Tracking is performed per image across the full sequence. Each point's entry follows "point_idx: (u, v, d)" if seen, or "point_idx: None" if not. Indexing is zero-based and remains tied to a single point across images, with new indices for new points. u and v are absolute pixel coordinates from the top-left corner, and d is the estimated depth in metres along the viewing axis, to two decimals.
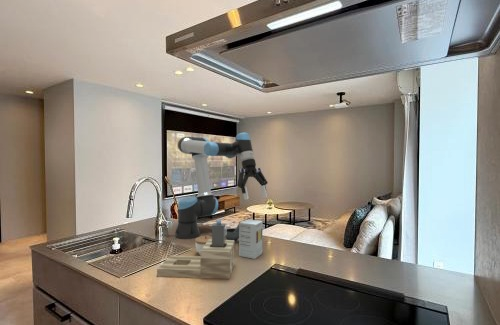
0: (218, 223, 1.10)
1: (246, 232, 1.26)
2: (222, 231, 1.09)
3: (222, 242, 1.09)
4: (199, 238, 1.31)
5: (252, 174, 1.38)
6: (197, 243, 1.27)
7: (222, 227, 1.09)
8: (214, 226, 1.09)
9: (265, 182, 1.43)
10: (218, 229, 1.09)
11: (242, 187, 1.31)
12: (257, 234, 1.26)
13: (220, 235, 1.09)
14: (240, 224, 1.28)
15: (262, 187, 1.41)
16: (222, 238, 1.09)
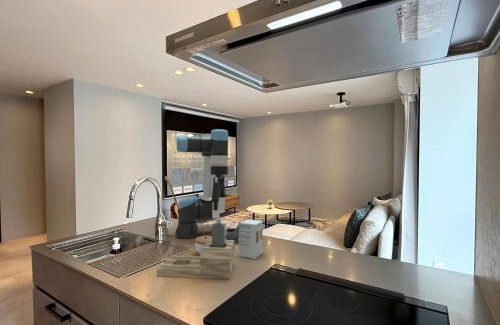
0: (218, 223, 1.10)
1: (246, 232, 1.26)
2: (222, 231, 1.09)
3: (222, 242, 1.09)
4: (199, 238, 1.31)
5: None
6: (197, 243, 1.27)
7: (222, 227, 1.09)
8: (214, 226, 1.09)
9: None
10: (218, 229, 1.09)
11: (216, 203, 1.02)
12: (257, 234, 1.26)
13: (220, 235, 1.09)
14: (240, 224, 1.28)
15: (221, 199, 1.17)
16: (222, 238, 1.09)
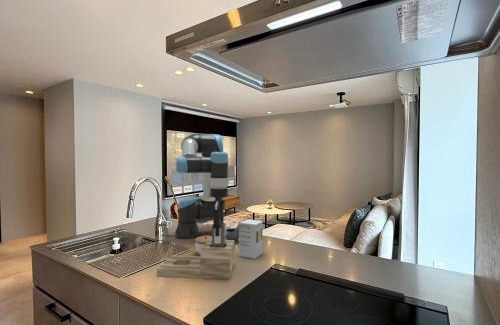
0: None
1: (246, 232, 1.26)
2: (222, 231, 1.09)
3: (222, 242, 1.09)
4: (199, 238, 1.31)
5: None
6: (197, 243, 1.27)
7: (222, 227, 1.09)
8: None
9: (222, 220, 1.15)
10: None
11: (218, 229, 1.07)
12: (257, 234, 1.26)
13: None
14: (240, 224, 1.28)
15: None
16: (222, 238, 1.09)
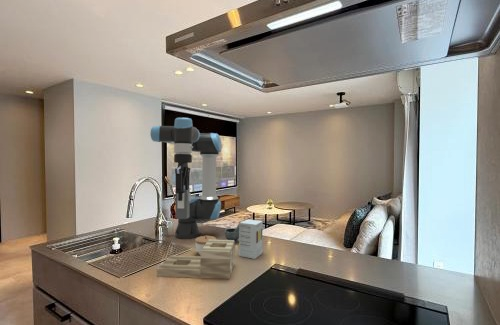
0: None
1: (246, 232, 1.26)
2: (185, 196, 1.10)
3: (185, 207, 1.10)
4: (199, 238, 1.31)
5: None
6: (197, 243, 1.27)
7: (185, 192, 1.10)
8: None
9: None
10: None
11: (180, 193, 1.08)
12: (257, 234, 1.26)
13: None
14: (240, 224, 1.28)
15: None
16: (185, 203, 1.10)
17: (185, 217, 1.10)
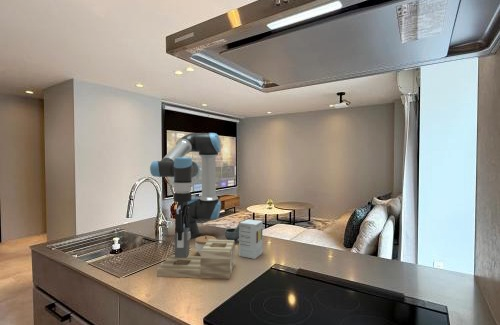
0: None
1: (246, 232, 1.26)
2: (185, 235, 1.10)
3: (185, 246, 1.10)
4: (199, 238, 1.31)
5: None
6: (197, 243, 1.27)
7: (185, 231, 1.10)
8: None
9: None
10: None
11: (180, 233, 1.08)
12: (257, 234, 1.26)
13: None
14: (240, 224, 1.28)
15: None
16: (185, 242, 1.10)
17: (185, 256, 1.10)
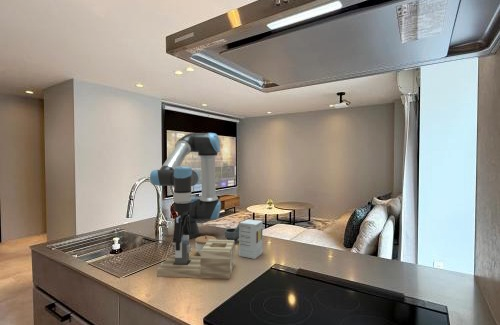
0: (181, 241, 1.11)
1: (246, 232, 1.26)
2: (185, 249, 1.10)
3: (185, 260, 1.10)
4: (199, 238, 1.31)
5: (184, 221, 1.12)
6: (197, 243, 1.27)
7: (185, 245, 1.10)
8: None
9: (189, 230, 1.19)
10: None
11: (178, 243, 1.06)
12: (257, 234, 1.26)
13: (183, 253, 1.10)
14: (240, 224, 1.28)
15: (185, 237, 1.17)
16: (185, 256, 1.10)
17: None
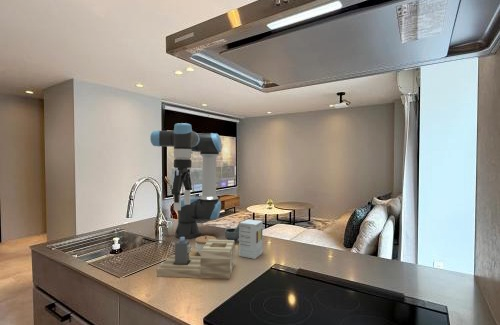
0: (181, 241, 1.11)
1: (246, 232, 1.26)
2: (185, 249, 1.10)
3: (185, 260, 1.10)
4: (199, 238, 1.31)
5: (185, 178, 1.13)
6: (197, 243, 1.27)
7: (185, 245, 1.10)
8: (177, 244, 1.10)
9: (190, 186, 1.21)
10: (181, 246, 1.10)
11: (177, 195, 1.04)
12: (257, 234, 1.26)
13: (183, 253, 1.10)
14: (240, 224, 1.28)
15: (187, 192, 1.19)
16: (185, 256, 1.10)
17: None
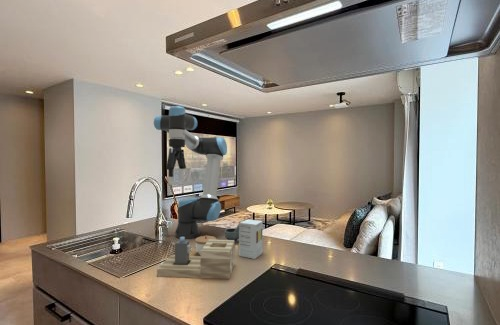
0: (181, 241, 1.11)
1: (246, 232, 1.26)
2: (185, 249, 1.10)
3: (185, 260, 1.10)
4: (199, 238, 1.31)
5: (178, 156, 1.24)
6: (197, 243, 1.27)
7: (185, 245, 1.10)
8: (177, 244, 1.10)
9: (184, 165, 1.33)
10: (181, 246, 1.10)
11: (171, 170, 1.16)
12: (257, 234, 1.26)
13: (183, 253, 1.10)
14: (240, 224, 1.28)
15: (181, 170, 1.31)
16: (185, 256, 1.10)
17: None
